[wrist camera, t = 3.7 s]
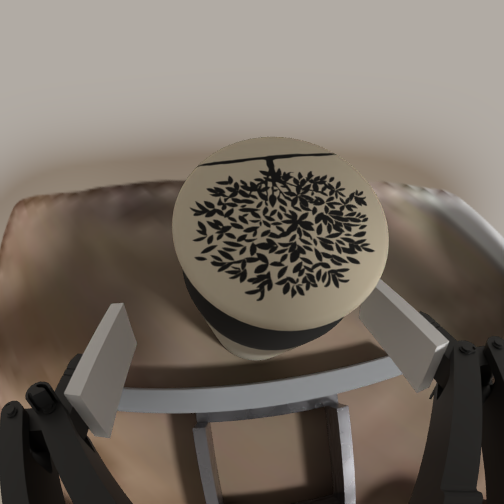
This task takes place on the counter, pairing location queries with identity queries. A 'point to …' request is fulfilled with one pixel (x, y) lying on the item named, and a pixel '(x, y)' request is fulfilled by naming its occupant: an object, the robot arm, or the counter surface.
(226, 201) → the travel mug
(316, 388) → the rail
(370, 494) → the counter surface
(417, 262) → the counter surface
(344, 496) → the grey square frame
